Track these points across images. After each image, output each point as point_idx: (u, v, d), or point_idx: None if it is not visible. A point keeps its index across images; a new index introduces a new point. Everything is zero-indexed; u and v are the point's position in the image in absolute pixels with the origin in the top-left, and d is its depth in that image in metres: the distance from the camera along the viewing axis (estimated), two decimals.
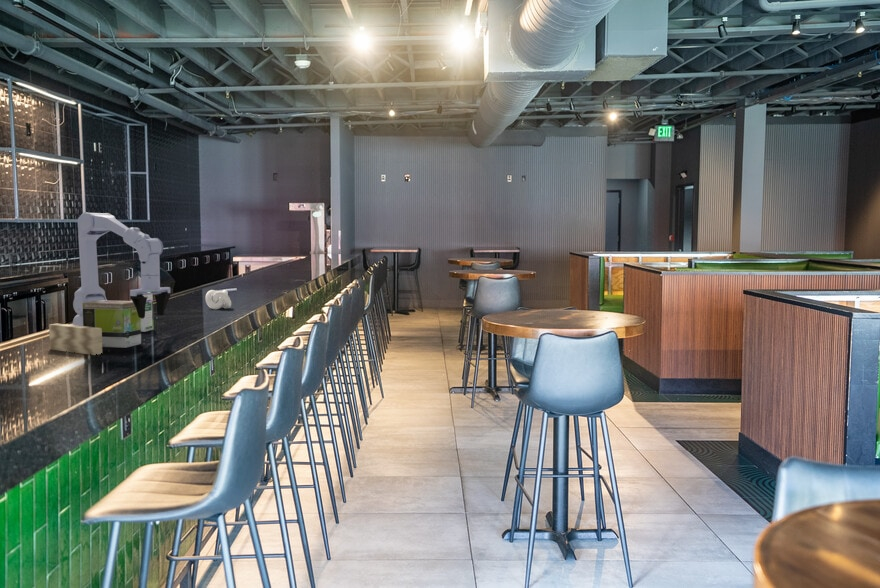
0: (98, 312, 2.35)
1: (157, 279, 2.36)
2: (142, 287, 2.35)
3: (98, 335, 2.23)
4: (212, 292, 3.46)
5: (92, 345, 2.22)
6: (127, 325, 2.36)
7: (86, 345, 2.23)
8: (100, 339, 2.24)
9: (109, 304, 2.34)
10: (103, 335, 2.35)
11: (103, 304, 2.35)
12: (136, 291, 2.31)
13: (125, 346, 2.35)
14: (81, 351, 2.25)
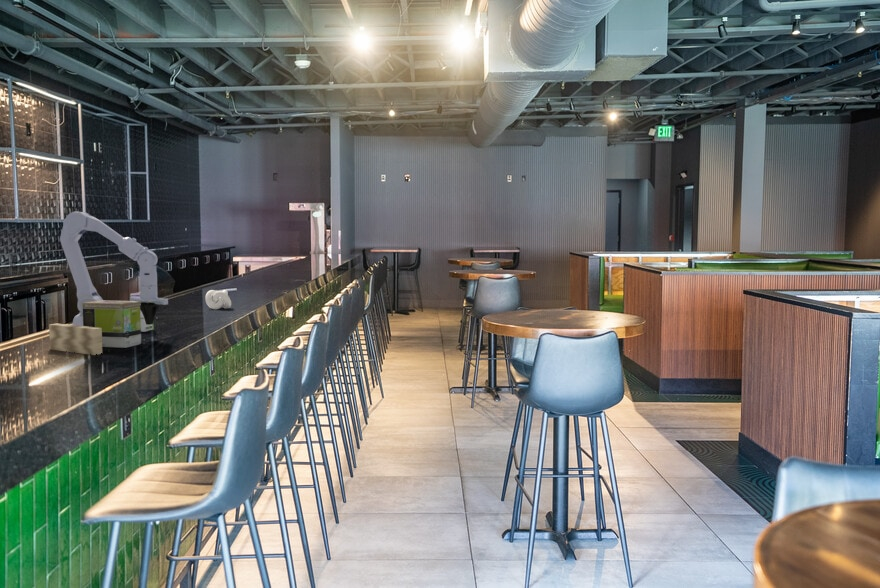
0: (98, 312, 2.35)
1: (144, 290, 2.50)
2: None
3: (98, 335, 2.23)
4: (212, 292, 3.46)
5: (92, 345, 2.22)
6: (127, 325, 2.36)
7: (86, 345, 2.23)
8: (100, 339, 2.24)
9: (109, 304, 2.34)
10: (103, 335, 2.35)
11: (103, 304, 2.35)
12: (131, 298, 2.54)
13: (125, 346, 2.35)
14: (81, 351, 2.25)
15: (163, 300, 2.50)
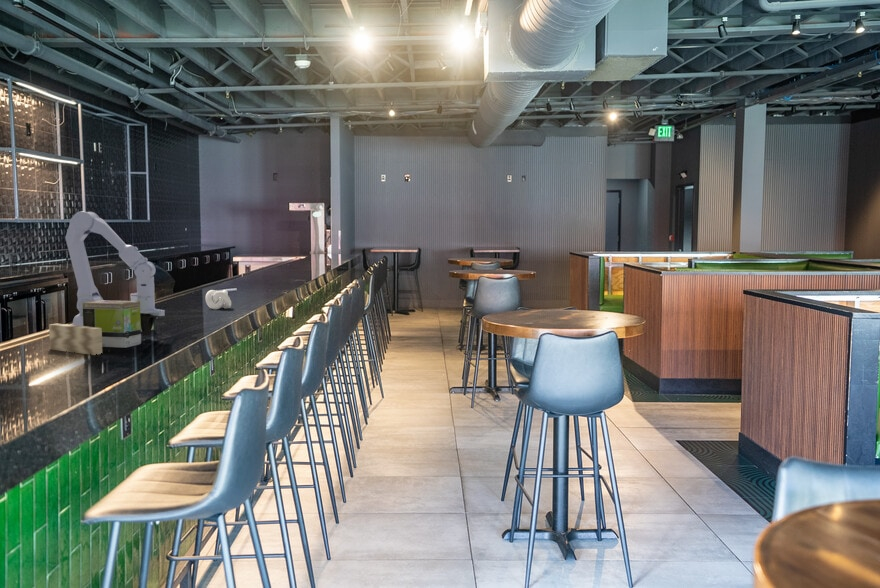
0: (98, 312, 2.35)
1: (140, 301, 2.49)
2: None
3: (98, 335, 2.23)
4: (212, 292, 3.46)
5: (92, 345, 2.22)
6: (127, 325, 2.36)
7: (86, 345, 2.23)
8: (100, 339, 2.24)
9: (109, 304, 2.34)
10: (103, 335, 2.35)
11: (103, 304, 2.35)
12: None
13: (125, 346, 2.35)
14: (81, 351, 2.25)
15: (159, 311, 2.49)
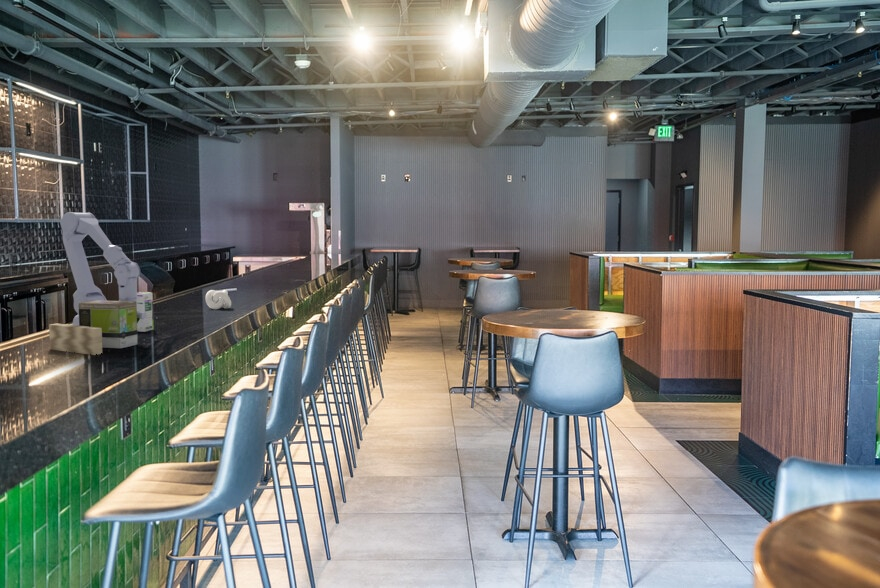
0: (93, 312, 2.33)
1: None
2: None
3: (98, 335, 2.23)
4: (212, 292, 3.46)
5: (92, 345, 2.22)
6: (123, 325, 2.34)
7: (86, 345, 2.23)
8: (100, 339, 2.24)
9: (105, 304, 2.33)
10: None
11: (99, 304, 2.33)
12: None
13: (121, 347, 2.33)
14: (81, 351, 2.25)
15: (141, 314, 2.42)
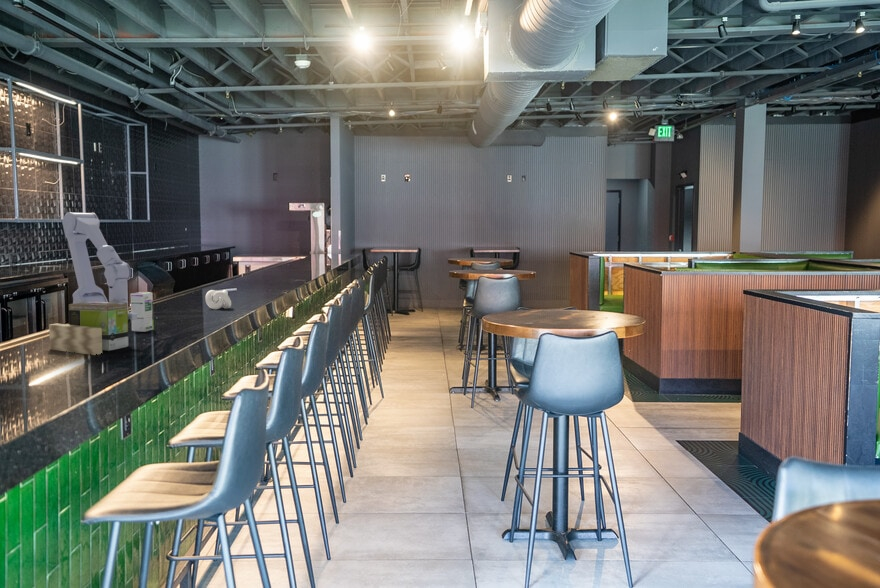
0: (83, 313, 2.30)
1: None
2: None
3: (98, 335, 2.23)
4: (212, 292, 3.46)
5: (92, 345, 2.22)
6: (112, 327, 2.30)
7: (86, 345, 2.23)
8: (100, 339, 2.24)
9: (94, 306, 2.29)
10: None
11: (88, 306, 2.30)
12: None
13: (110, 349, 2.30)
14: (81, 351, 2.25)
15: (131, 315, 2.38)
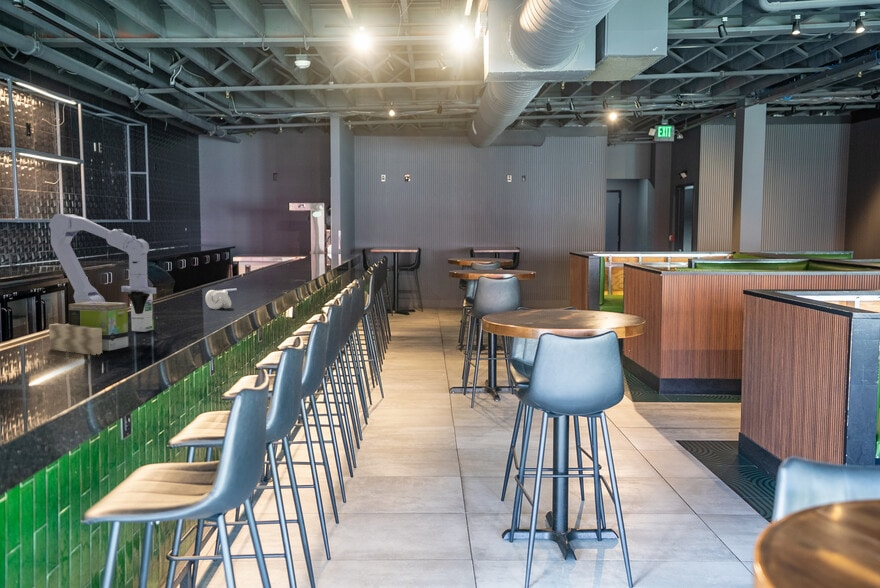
0: (83, 313, 2.30)
1: (132, 278, 2.46)
2: None
3: (98, 335, 2.23)
4: (212, 292, 3.46)
5: (92, 345, 2.22)
6: (112, 327, 2.30)
7: (86, 345, 2.23)
8: (100, 339, 2.24)
9: (94, 306, 2.29)
10: None
11: (88, 305, 2.30)
12: (122, 287, 2.51)
13: (110, 349, 2.30)
14: (81, 351, 2.25)
15: (151, 289, 2.45)
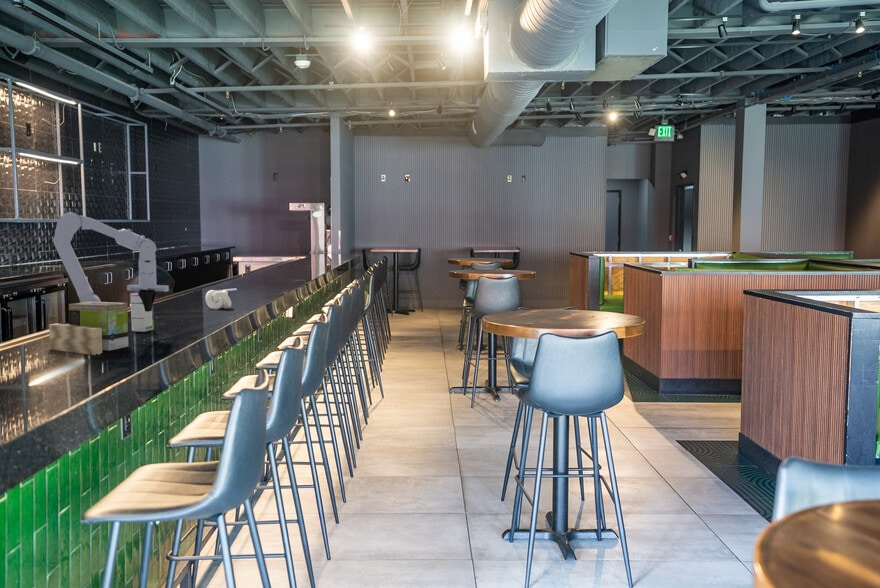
0: (83, 313, 2.30)
1: (144, 277, 2.53)
2: None
3: (98, 335, 2.23)
4: (212, 292, 3.46)
5: (92, 345, 2.22)
6: (112, 327, 2.30)
7: (86, 345, 2.23)
8: (100, 339, 2.24)
9: (94, 306, 2.29)
10: None
11: (88, 305, 2.30)
12: (128, 286, 2.56)
13: (110, 349, 2.30)
14: (81, 351, 2.25)
15: (165, 287, 2.55)
